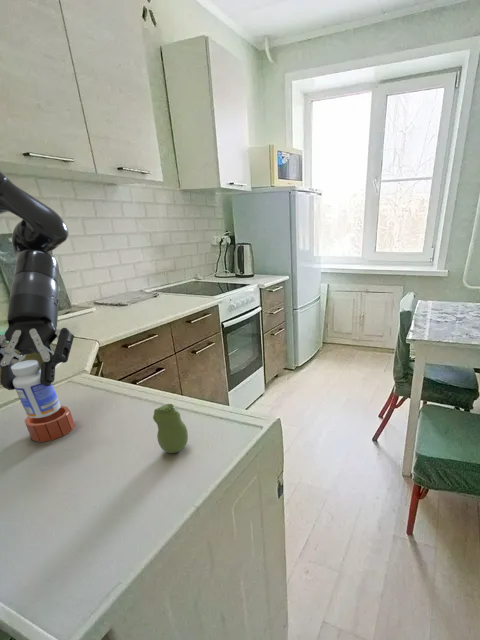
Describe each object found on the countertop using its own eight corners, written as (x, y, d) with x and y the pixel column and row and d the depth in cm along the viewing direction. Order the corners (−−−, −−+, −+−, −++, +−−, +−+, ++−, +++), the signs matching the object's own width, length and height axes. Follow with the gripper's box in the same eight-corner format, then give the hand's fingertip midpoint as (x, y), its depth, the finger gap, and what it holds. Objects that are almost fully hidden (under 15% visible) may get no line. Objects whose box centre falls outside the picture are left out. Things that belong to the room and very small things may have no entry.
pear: (170, 462, 66) (158, 416, 61) (155, 451, 69) (144, 407, 64) (195, 448, 69) (186, 404, 65) (180, 438, 72) (171, 395, 68)
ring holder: (22, 438, 76) (15, 422, 74) (56, 418, 82) (50, 403, 81) (50, 444, 73) (44, 428, 71) (83, 423, 80) (77, 408, 78)
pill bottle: (64, 402, 69) (46, 355, 65) (57, 415, 64) (37, 366, 60) (32, 407, 68) (12, 361, 63) (23, 421, 63) (0, 372, 59)
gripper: (-22, 295, 62) (-35, 384, 57) (64, 288, 64) (59, 374, 59) (7, 316, 70) (-3, 397, 64) (83, 309, 71) (81, 388, 66)
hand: (27, 386), depth 62 cm, fingers closed on pill bottle, 5 cm apart
